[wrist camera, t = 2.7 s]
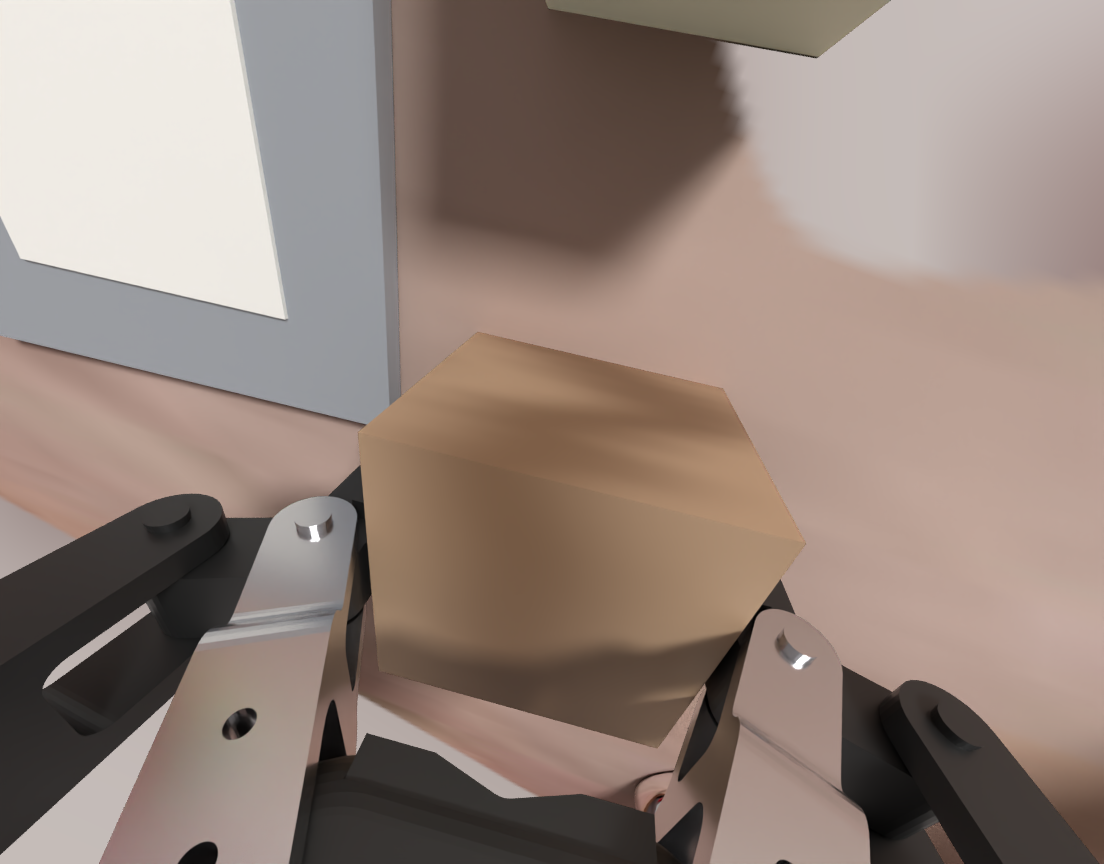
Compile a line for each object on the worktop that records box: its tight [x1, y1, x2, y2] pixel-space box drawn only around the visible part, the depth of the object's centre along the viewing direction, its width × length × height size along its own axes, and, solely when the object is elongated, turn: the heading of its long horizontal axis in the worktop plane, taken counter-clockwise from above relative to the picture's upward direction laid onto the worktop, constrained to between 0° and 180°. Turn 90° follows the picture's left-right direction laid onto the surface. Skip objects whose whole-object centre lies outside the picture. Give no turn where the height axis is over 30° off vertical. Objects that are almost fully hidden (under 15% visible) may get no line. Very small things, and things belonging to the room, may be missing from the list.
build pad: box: [0, 0, 401, 424], centre depth 8 cm, size 12×12×1 cm
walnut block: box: [358, 332, 806, 748], centre depth 9 cm, size 6×6×5 cm
